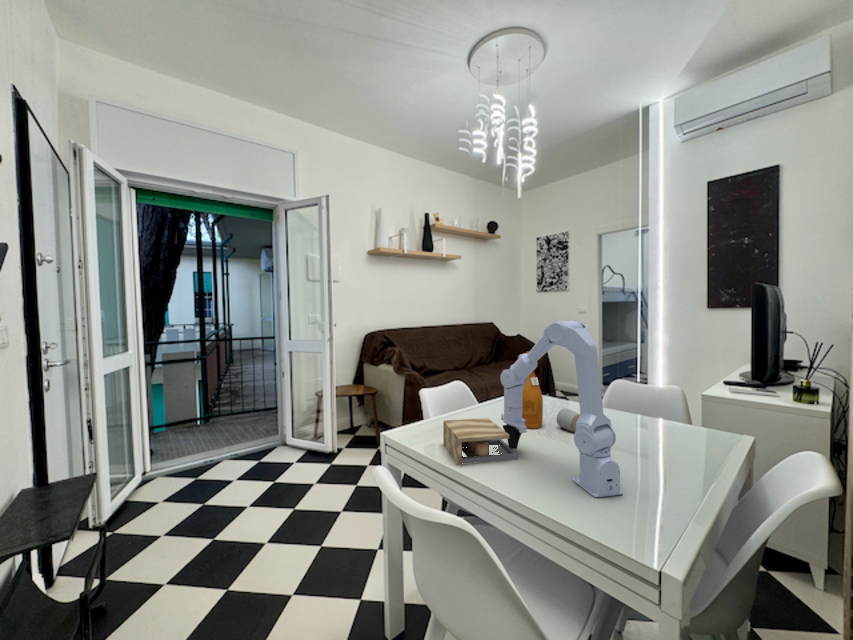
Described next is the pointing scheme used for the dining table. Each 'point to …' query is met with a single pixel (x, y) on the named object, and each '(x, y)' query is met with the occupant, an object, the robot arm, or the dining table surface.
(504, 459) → the tray
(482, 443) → the pink round cylinder
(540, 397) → the wine bottle
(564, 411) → the ceramic mug
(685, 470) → the dining table surface
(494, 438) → the wooden l-shaped bracket
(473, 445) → the peg
